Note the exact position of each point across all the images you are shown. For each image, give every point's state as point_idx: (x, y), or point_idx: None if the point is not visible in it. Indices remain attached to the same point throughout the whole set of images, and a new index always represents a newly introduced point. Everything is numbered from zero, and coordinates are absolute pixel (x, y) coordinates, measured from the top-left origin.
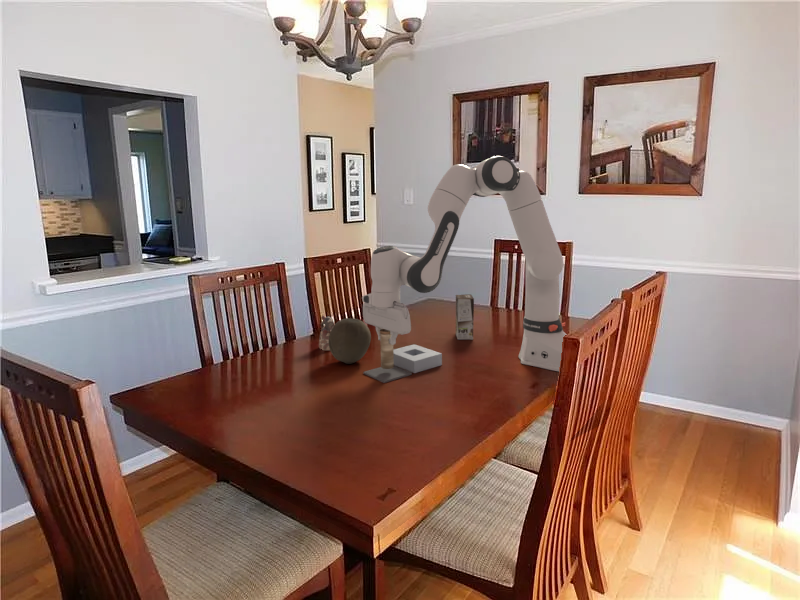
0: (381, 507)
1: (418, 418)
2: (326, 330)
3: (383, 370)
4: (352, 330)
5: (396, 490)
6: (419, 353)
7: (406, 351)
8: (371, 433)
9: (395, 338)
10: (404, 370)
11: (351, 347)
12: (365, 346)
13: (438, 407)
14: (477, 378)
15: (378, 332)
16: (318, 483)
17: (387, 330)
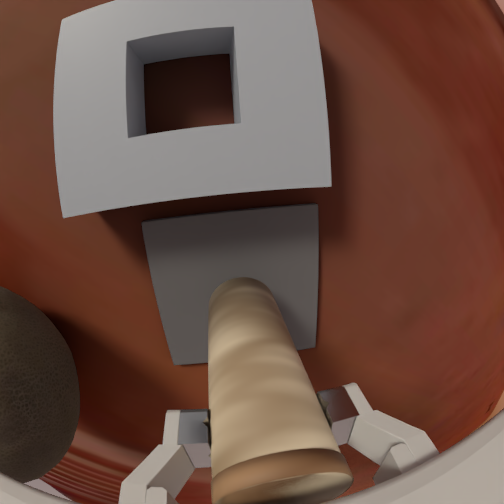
0: (490, 411)
1: (480, 343)
2: None
3: (204, 296)
4: (28, 468)
5: (494, 400)
6: (171, 40)
7: (127, 109)
8: (444, 412)
9: (377, 415)
10: (267, 213)
11: (75, 424)
12: (48, 358)
13: (491, 289)
14: (458, 62)
15: (181, 487)
16: (443, 449)
17: (296, 498)
